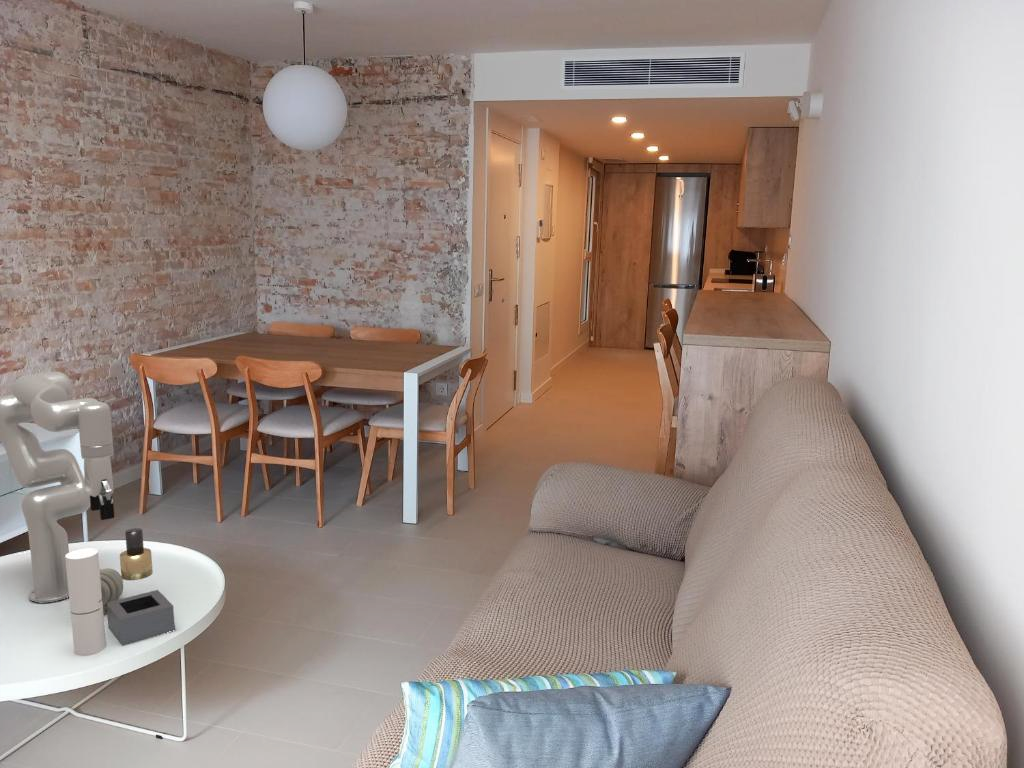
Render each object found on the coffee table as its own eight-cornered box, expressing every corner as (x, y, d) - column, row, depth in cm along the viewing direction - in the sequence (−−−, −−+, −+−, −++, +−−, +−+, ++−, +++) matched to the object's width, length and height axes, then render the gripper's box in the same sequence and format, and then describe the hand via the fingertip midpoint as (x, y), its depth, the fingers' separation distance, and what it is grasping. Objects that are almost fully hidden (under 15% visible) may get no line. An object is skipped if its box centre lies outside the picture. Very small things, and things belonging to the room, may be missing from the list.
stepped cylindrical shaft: (118, 573, 214) (114, 530, 212) (147, 566, 219) (144, 524, 217) (126, 582, 209) (122, 538, 207) (156, 575, 213) (153, 531, 211)
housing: (108, 627, 217) (106, 602, 216) (159, 613, 225) (157, 589, 224) (122, 645, 207) (119, 619, 206) (174, 630, 215) (173, 605, 214)
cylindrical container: (111, 641, 210) (103, 548, 205) (98, 655, 202) (89, 558, 198) (82, 642, 209) (74, 548, 205) (68, 655, 202) (59, 559, 198)
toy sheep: (70, 622, 220) (67, 583, 219) (97, 595, 237) (94, 559, 235) (111, 620, 221) (108, 581, 219) (135, 594, 238) (132, 558, 236)
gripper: (73, 446, 216) (78, 509, 219) (89, 459, 203) (95, 525, 206) (104, 442, 221) (109, 503, 224) (122, 454, 208) (127, 519, 211)
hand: (102, 514), depth 215 cm, fingers open, 9 cm apart
